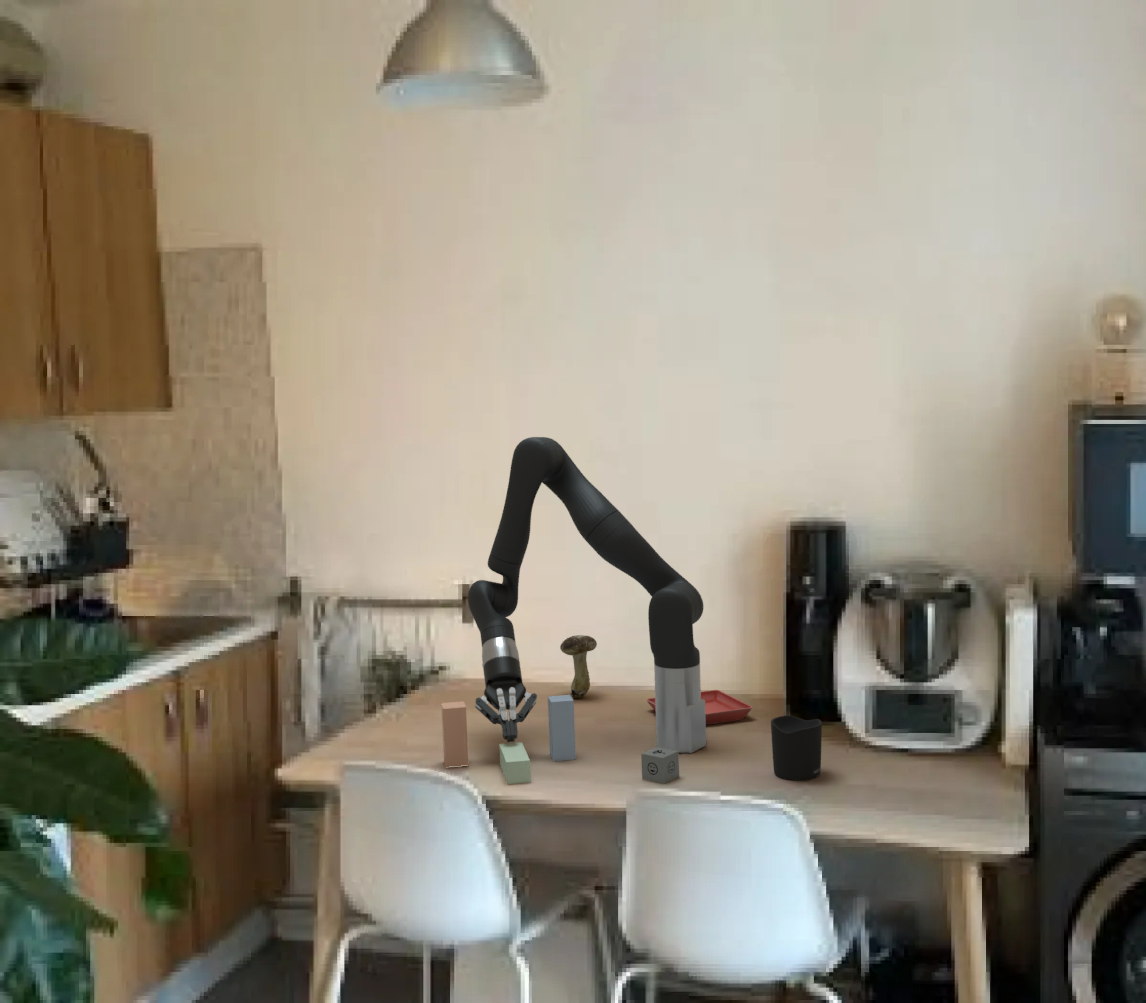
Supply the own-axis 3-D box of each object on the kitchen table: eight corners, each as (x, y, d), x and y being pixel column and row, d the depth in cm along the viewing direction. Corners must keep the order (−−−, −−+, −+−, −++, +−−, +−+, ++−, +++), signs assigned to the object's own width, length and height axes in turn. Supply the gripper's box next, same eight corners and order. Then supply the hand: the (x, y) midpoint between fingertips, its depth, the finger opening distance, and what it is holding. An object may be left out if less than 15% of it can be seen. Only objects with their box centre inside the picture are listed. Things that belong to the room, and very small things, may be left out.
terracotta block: (466, 759, 257) (463, 701, 255) (468, 766, 252) (465, 707, 251) (444, 761, 256) (441, 703, 255) (445, 768, 252) (442, 709, 250)
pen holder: (785, 784, 235) (784, 731, 234) (763, 769, 244) (762, 718, 243) (831, 778, 238) (830, 725, 237) (808, 763, 247) (807, 712, 246)
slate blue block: (572, 752, 259) (569, 694, 258) (575, 759, 254) (573, 700, 253) (550, 754, 258) (547, 696, 257) (553, 761, 254) (551, 702, 252)
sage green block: (521, 742, 253) (530, 760, 241) (522, 764, 253) (530, 783, 242) (499, 744, 252) (506, 762, 240) (500, 766, 253) (507, 785, 241)
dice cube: (657, 772, 245) (656, 746, 244) (679, 776, 242) (678, 751, 241) (642, 779, 241) (641, 753, 240) (663, 784, 238) (663, 758, 237)
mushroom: (598, 702, 296) (596, 638, 295) (561, 703, 297) (558, 640, 295) (598, 692, 306) (596, 630, 304) (562, 693, 306) (560, 631, 304)
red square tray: (645, 712, 288) (645, 697, 288) (718, 702, 294) (717, 688, 294) (678, 732, 271) (677, 717, 271) (754, 722, 277) (754, 707, 277)
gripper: (469, 657, 257) (478, 733, 247) (534, 652, 260) (546, 727, 249) (468, 676, 263) (476, 752, 252) (532, 672, 265) (543, 746, 255)
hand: (511, 739), depth 251 cm, fingers closed
